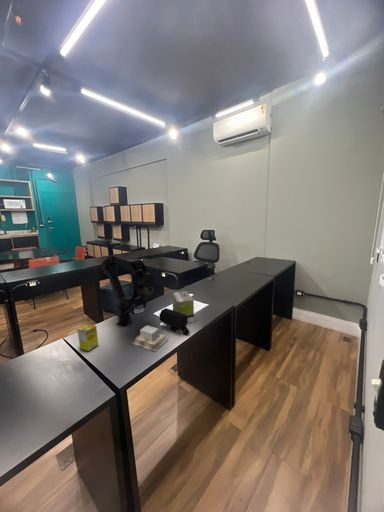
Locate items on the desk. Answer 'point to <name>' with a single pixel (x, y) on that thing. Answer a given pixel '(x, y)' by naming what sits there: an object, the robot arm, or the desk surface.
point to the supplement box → (88, 337)
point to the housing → (150, 333)
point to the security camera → (175, 320)
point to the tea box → (183, 304)
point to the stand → (150, 343)
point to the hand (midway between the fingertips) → (138, 310)
